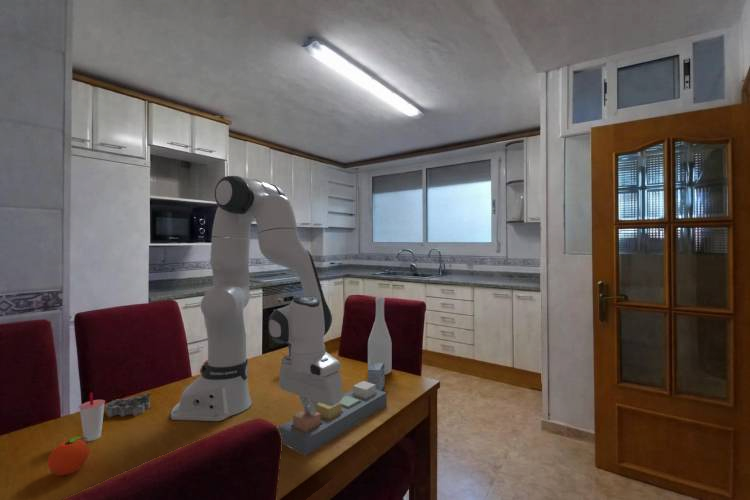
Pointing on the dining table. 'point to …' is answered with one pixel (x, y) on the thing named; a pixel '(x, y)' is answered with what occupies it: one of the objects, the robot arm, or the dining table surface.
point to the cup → (92, 418)
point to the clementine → (68, 456)
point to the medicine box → (376, 375)
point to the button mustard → (328, 410)
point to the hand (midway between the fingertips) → (309, 413)
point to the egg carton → (128, 406)
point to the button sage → (349, 402)
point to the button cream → (364, 390)
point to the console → (332, 424)
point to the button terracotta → (306, 421)
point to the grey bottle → (380, 340)
